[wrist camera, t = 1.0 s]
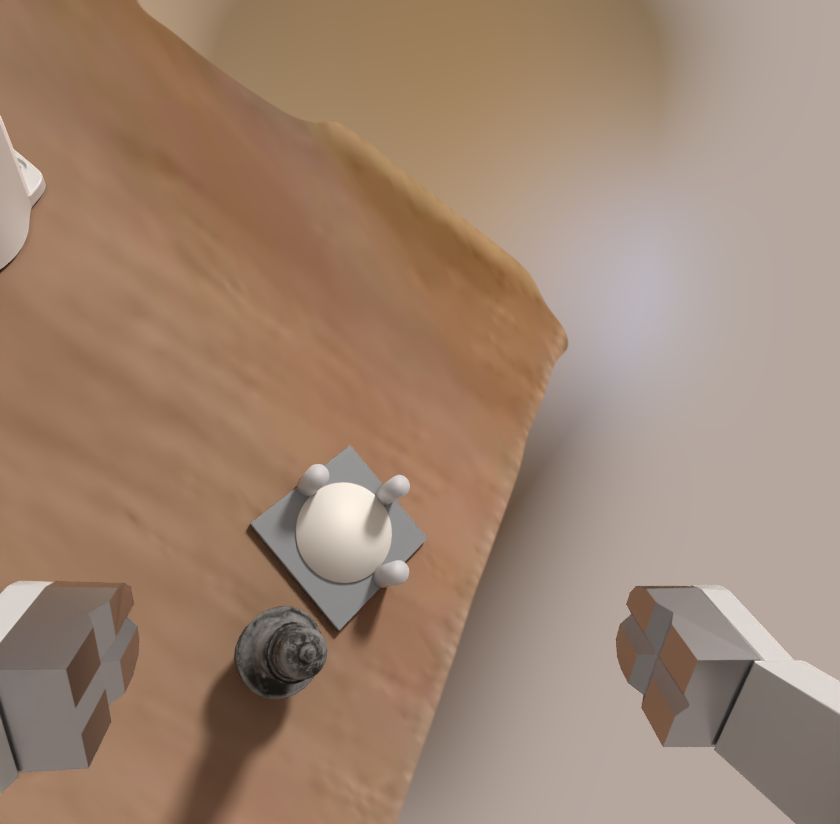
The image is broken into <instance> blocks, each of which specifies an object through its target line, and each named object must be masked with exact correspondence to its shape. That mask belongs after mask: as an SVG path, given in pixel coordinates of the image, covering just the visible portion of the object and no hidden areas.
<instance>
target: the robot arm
mask: <svg viewBox="0 0 840 824" xmlns="http://www.w3.org/2000/svg"><path fill="white" fill-rule="evenodd" d="M45 188H46V184H45V181H44V179H43V176H42V174H41V172H40V171H39V170H38V169H37V168H35V167H34V166H33V165H32V164H31V163H30V162H28V161H27V160H26V159H25V158H24V157H22V156H21V155H20V154H19V153H18V152H16V151H15V150H14V149H13V147H12V144H11V141H10V139H9V136H8V133H7V131H6V128H5V126H4V123H3V120H2V118H1V116H0V269H1V268H3V267H4V266H6V265H7V264H8V263H9V262H10V261H11V260H12V259H13V258H14V257H15V256H16V255H17V254H18V252H19V251H20V249H21V248H22V246H23V244H24V242H25V240H26V238H27V234H28V230H29V219H30V211H31V208H32V206H33V205H34V204H35V203H36V202H37V201H38V199H39V198H40V197H41V195H42V194H43V192H44V190H45ZM133 605H134V600H133V595H132V590H131V586H129V585H127V584H125V583H101V582H66V581H55V582H41V581H18V582H15V583H13V584H11V585H9V586H7V587H6V588H5V589H4V590H3V591H2V593H1V594H0V794H1V793H2V792H3V791H4V790H5V789H6V788H7V787H8V786H9V785H11V784H12V783H13V782H14V781H15V780H16V779H17V778H18V777H19V775H18V773H27V772H42V771H57V770H72V769H87V768H89V767H90V765H91V763H92V760H93V758H94V756H95V754H96V752H97V750H98V748H99V746H100V744H101V742H102V740H103V738H104V736H105V734H106V732H107V730H108V727H109V725H110V723H111V717H110V711H109V705H110V704H112V703H113V702H114V701H116V700H117V699H118V698H119V697H121V696H122V695H123V694H124V693H125V692H126V690H127V688H128V685H129V683H130V681H131V679H132V677H133V674H134V670H135V666H136V662H137V658H138V653H139V633H138V626H137V625H135V624H134V623H133V622H132V621H131V620H130V619H129V618H128V617H127V616H128V614H129V612H130V611H131V609H132V607H133ZM626 605H627V606H628V608H629V610H630V612H631V615H630V616H629V617H628V618H626V619H625V620H624V621H623V622H622V623H621V624H620V626H619V630H618V634H617V638H616V647H617V658H618V661H619V664H620V667H621V670H622V672H623V674H624V676H625V678H626V679H627V682H628V683H629V684H630V685H631V686H633V687H634V688H635V689H637V690H638V691H639V692H641V693H642V694H643V701H642V709H643V711H644V713H645V715H646V717H647V719H648V720H649V722H650V724H651V726H652V728H653V729H654V731H655V733H656V735H657V737H658V738H659V740H660V742H661V744H662V746H663V747H715V748H714V750H715V751H716V752H717V753H718V754H719V755H721V756H722V757H723V758H724V759H725V760H726V761H727V762H728V763H729V764H730V765H732V766H733V767H734V768H735V769H736V770H737V771H738V772H739V773H740V774H741V775H743V776H744V777H745V778H746V779H747V780H748V781H749V782H750V783H751V784H753V785H754V786H755V787H756V788H757V789H758V790H759V791H760V792H761V793H763V794H764V795H765V796H766V797H767V798H768V799H769V800H770V801H771V802H772V803H773V804H775V805H776V806H777V807H778V808H779V809H780V810H781V811H783V813H785V814H786V815H787V816H788V817H789V818H790V819H791V820H792V821H793V822H794V823H796V824H840V681H838V680H836V679H835V678H833V677H831V676H829V675H827V674H826V673H824V672H822V671H821V670H819V669H817V668H815V667H814V666H812V665H810V664H808V663H806V662H805V661H794V660H793V659H792V658H791V657H790V655H789V654H788V653H787V652H786V651H785V650H784V649H783V648H782V647H781V646H780V645H779V644H778V642H776V640H775V639H774V638H773V637H772V636H771V635H770V634H769V633H768V632H767V631H766V630H765V629H764V627H763V626H762V625H761V624H760V623H759V622H758V621H757V620H756V619H755V618H754V617H753V616H752V615H751V614H750V612H749V611H748V610H747V609H746V608H745V607H744V606H743V605H742V604H741V603H740V602H739V601H738V600H737V598H735V596H734V595H733V594H732V593H731V592H730V591H729V590H728V589H726V588H724V587H722V586H720V585H692V586H636V587H635V588H634V589H633V590H632V591H631V592H630V595H629V598H628V601H627V604H626Z"/></svg>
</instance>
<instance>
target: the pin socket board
mask: <svg viewBox="0 0 840 824" xmlns="http://www.w3.org/2000/svg"><path fill="white" fill-rule="evenodd" d="M409 489H410V484H409V481H408V480H407V478H406V477H404V476H402V475H396V476H394V477H393V478H391V479H390V480H389V481H387V482H386V483H384V484H382V483H381V482H380V481H379V479H378V478H377V477H376V476H375V475H374V473H373V472H372V471H371V470H370V469H369V467H368V466H367V465H366V464H365V463H364V461H363V460H362V459H361V458H360V457H359V455H358V454H357V453H356V452H355V450H354V449H353V448H352V447H351V446H349V447H347V448H346V449H345V450H344V451H342V452H341V453H340V454H338V455H337V456H336V457H335V458H333V459H332V460H331V461H330V462H328V463H327V464H326V465H324V466H323V465H320V464H315V465H312V466H311V467H310V468H309V469H308V470H307V471H306V472H305V474H304V475H303V476H302V477H301V478H300V479H299V481H298V483H297V487H296V488H295V489H294V490H292V491H291V492H290V493H289V494H287V495H286V496H285V497H284V498H282V499H281V500H280V501H278V502H277V503H276V504H275V505H273V506H272V507H271V508H269V509H268V510H267V511H266V512H264V513H263V514H262V515H261V516H259V517H258V518H257V519H255V520H254V521H253V522H252V523H251V524H250V526H251V527H252V528H253V529H254V530H255V532H256V533H257V534H258V535H259V537H260V538H261V539H262V540H263V541H264V543H265V544H266V545H267V546H268V547H269V549H270V550H271V551H272V552H273V553H274V555H275V556H276V557H277V558H278V559H279V561H280V562H281V563H282V564H283V566H284V567H285V568H286V569H287V570H288V572H289V573H290V574H291V575H292V576H293V578H294V579H295V580H296V581H297V582H298V584H299V585H300V586H301V587H302V589H303V590H304V591H305V592H306V593H307V595H308V596H309V597H310V598H311V599H312V601H313V602H314V603H315V604H316V605H317V607H318V608H319V609H320V610H321V612H322V613H323V614H324V615H325V616H326V618H327V619H328V620H329V621H330V622H331V624H332V625H333V626H334V627H335V628H336V630H337V631H339V630H340V629H341V628H342V627H343V626H344V625H345V624H346V623H347V622H348V621H349V620H350V619H351V618H352V617H353V616H354V615H355V614H356V613H357V612H358V610H359V609H360V608H361V607H362V606H363V605H364V604H365V603H366V602H367V601H368V600H369V599H370V598H371V597H372V596H373V595H374V594H375V593H376V592H377V591H378V590H379V589H380V587H381V588H385V587H389V586H393V585H397V584H402V583H404V582H405V581H406V580H407V579H408V576H409V568H408V566H407V564H406V563H405V561H406V560H407V559H408V558H409V557H410V556H411V555H412V554H413V553H414V552H415V551H416V550H417V549H418V548H419V547H420V546H421V545H422V544H423V542H424V541H425V540H426V539H427V537H426V536H425V535H424V533H423V532H422V531H421V530H420V529H419V527H418V526H417V525H416V524H415V523H414V521H413V520H412V519H411V518H410V517H409V515H408V514H407V513H406V512H405V511H404V509H403V508H402V507H401V506H400V505H399V503H398V502H397V501H396V500H397V499H399V498H401V497H402V496H404V495H406V494H407V493H408V492H409Z"/></svg>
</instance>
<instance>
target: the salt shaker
mask: <svg viewBox="0 0 840 824" xmlns="http://www.w3.org/2000/svg"><path fill="white" fill-rule="evenodd" d="M326 658H327V645H326V642H325V640H324V637H323V636H322V635H321V632H320V630H319V628H318V626H317V624H316V622H315V621H314V620H313V619H312V618H311V616H310V615H308V614H307V613H305V612H304V611H302V610H301V609H297V608H294V607H291V606H279V607H276V608H272V609H268V610H267V611H265V612H263V613H261V614H260V615H258V616H257V617H256V618H255V619H254V620H253V621H252V622H251V623H250V624H249V625H248V626H247V627H246V628H245V629H244V631H243V632H242V634H241V635H240V637H239V640H238V643H237V646H236V653H235V660H236V667H237V669H238V671H239V674H240V676H241V678H242V680H243V682H244V683H245V684H246V686H247V687H248V688H249V689H250V690H251V691H252V692H254V693H255V694H257V695H259V696H260V697H264V698H268V699H284V698H287V697H289V696H292V695H295V694H296V693H298V692H299V691H301V690H302V689H304V688H305V687H306V686H307V685H308V684H309V682H310V681H311V680H312V679H313V678H314V676H315V675H316V674H318V673H319V671H320V670H321V669H322V668H323V666H324V664H325V662H326Z"/></svg>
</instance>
